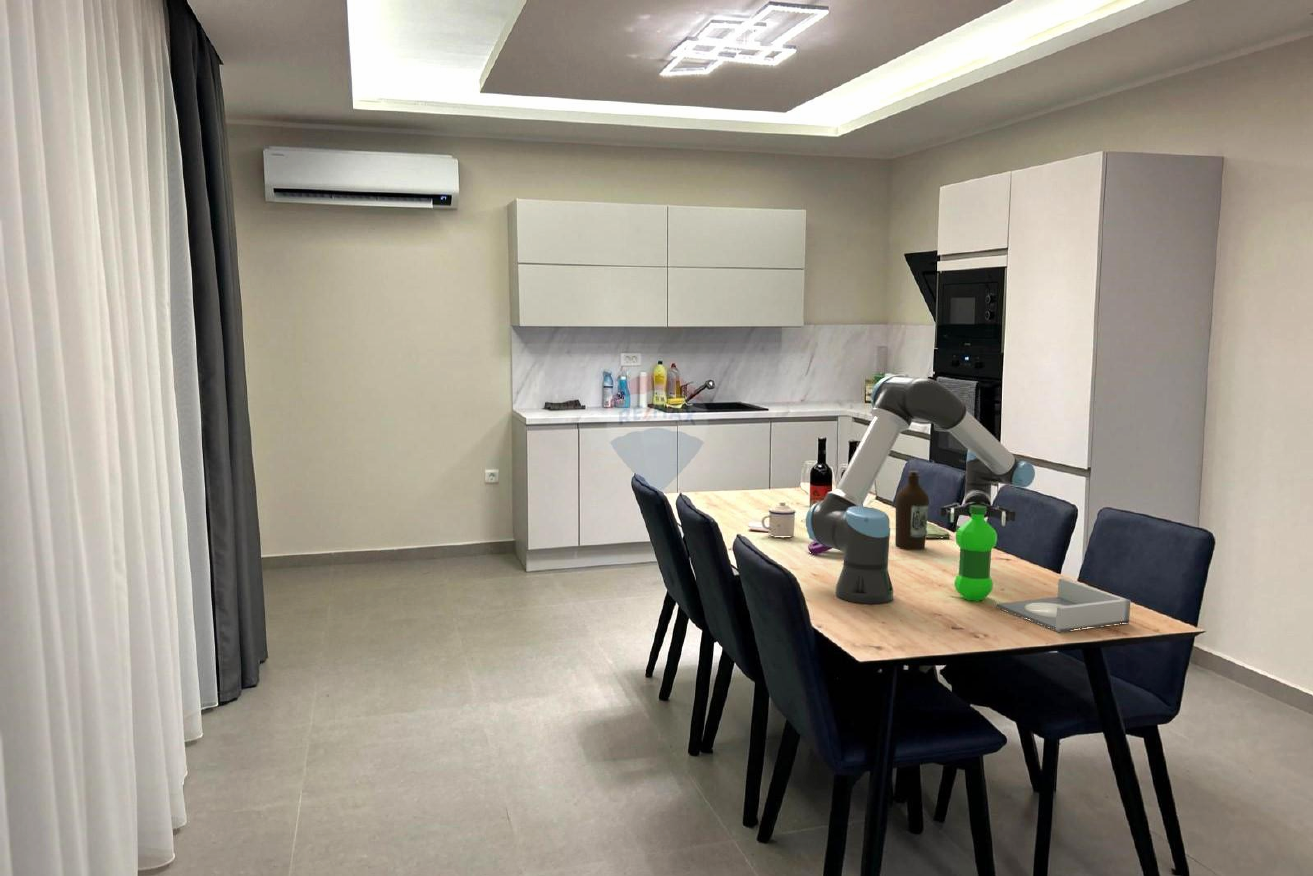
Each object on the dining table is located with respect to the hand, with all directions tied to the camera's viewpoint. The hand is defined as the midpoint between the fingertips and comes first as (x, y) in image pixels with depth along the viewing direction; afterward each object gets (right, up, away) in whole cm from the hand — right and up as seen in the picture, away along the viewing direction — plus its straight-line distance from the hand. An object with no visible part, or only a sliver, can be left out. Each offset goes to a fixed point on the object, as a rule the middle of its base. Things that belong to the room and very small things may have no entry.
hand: (977, 519), depth 268 cm
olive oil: (-5, -14, +52) cm, 54 cm away
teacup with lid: (-47, -11, +66) cm, 81 cm away
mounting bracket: (-31, -15, +42) cm, 54 cm away
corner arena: (+14, -23, -21) cm, 34 cm away
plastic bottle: (-4, -21, -7) cm, 22 cm away
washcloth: (+5, -12, +73) cm, 74 cm away
